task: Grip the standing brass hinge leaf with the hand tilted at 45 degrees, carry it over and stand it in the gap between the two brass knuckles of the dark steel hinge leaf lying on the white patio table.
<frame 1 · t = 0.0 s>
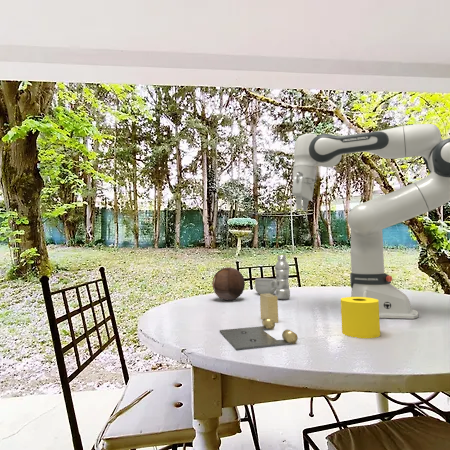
hand: (301, 209, 133), 39 cm above the table, tool pointing down, fingers open, 8 cm apart
teacup: (267, 295, 167), on the table
wooden sphere: (229, 300, 154), on the table
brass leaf: (269, 320, 112), on the table
yellow toilet paper roll: (360, 334, 94), on the table
plastic bottle: (283, 299, 152), on the table
fixed leaf: (278, 335, 94), on the table
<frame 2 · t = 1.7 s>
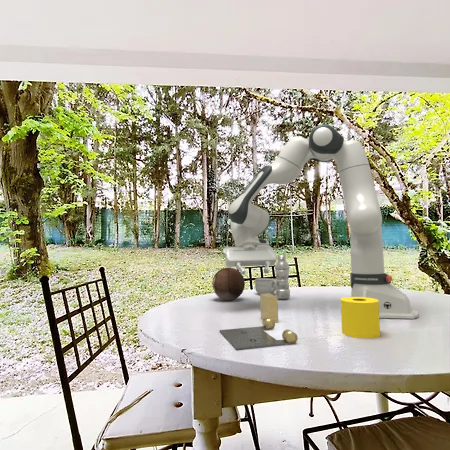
hand: (255, 272, 125), 15 cm above the table, tool tilted 45°, fingers open, 8 cm apart
nothing on the table moved.
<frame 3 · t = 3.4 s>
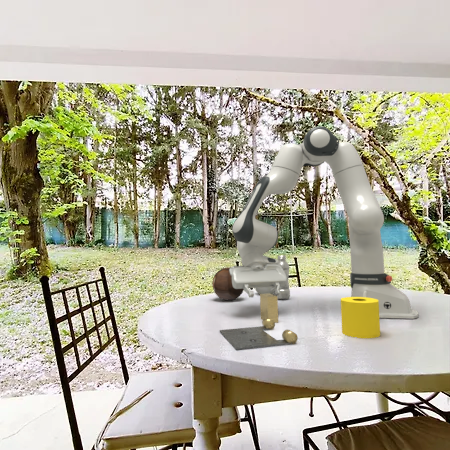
hand: (264, 295, 116), 8 cm above the table, tool tilted 45°, fingers open, 8 cm apart
nothing on the table moved.
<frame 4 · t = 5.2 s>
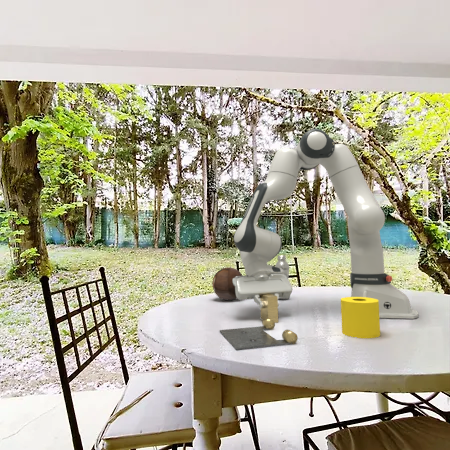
hand: (269, 307, 112), 5 cm above the table, tool tilted 45°, fingers closed on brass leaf, 3 cm apart
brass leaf: (269, 320, 112), on the table, touching gripper
everything else where it was.
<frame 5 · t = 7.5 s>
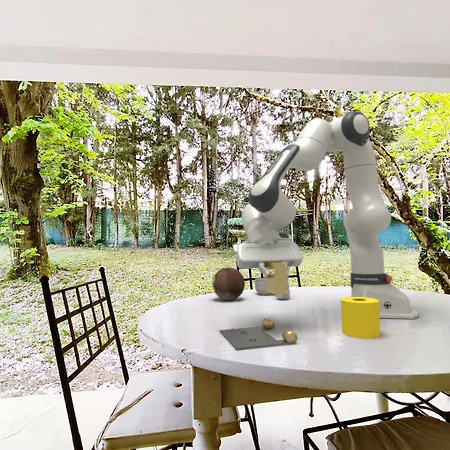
hand: (276, 276, 95), 17 cm above the table, tool tilted 45°, fingers closed on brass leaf, 3 cm apart
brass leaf: (275, 292, 96), point 12 cm above the table, touching gripper
everything else where it was.
when the fingers open (6 cm above the table, at t = 9.8 s): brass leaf drops 2 cm, on the table.
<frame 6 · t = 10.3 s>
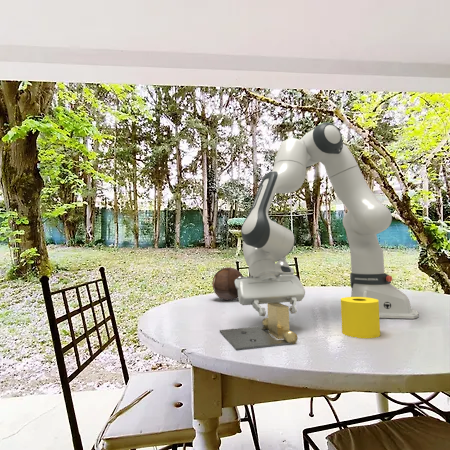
hand: (278, 313, 94), 6 cm above the table, tool tilted 45°, fingers open, 8 cm apart
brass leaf: (278, 335, 94), on the table
everything else where it was.
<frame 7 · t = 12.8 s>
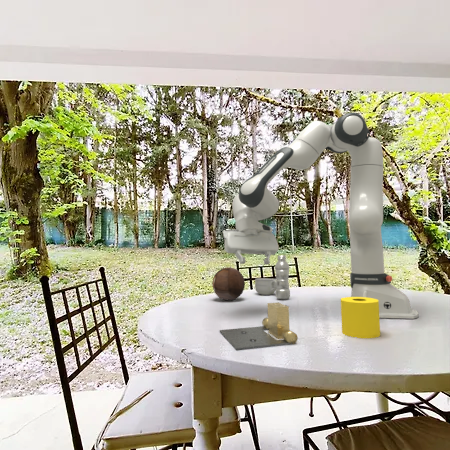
hand: (255, 263, 117), 19 cm above the table, tool tilted 30°, fingers open, 8 cm apart
nothing on the table moved.
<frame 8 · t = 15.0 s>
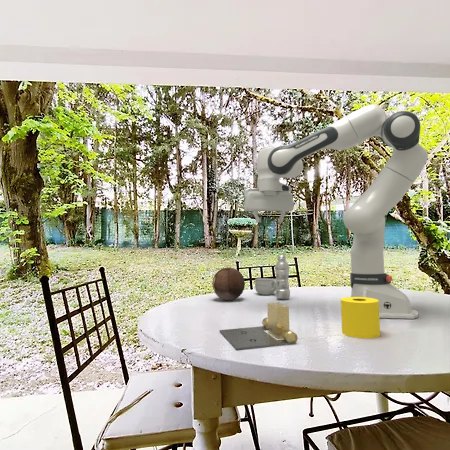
hand: (269, 222, 133), 34 cm above the table, tool pointing down, fingers open, 8 cm apart
nothing on the table moved.
at the end: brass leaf inside the target area on the fixed leaf (0.1 cm from its centre), point 0.0 cm above the fixed leaf's base; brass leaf tilted 0°; the gripper is holding nothing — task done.
